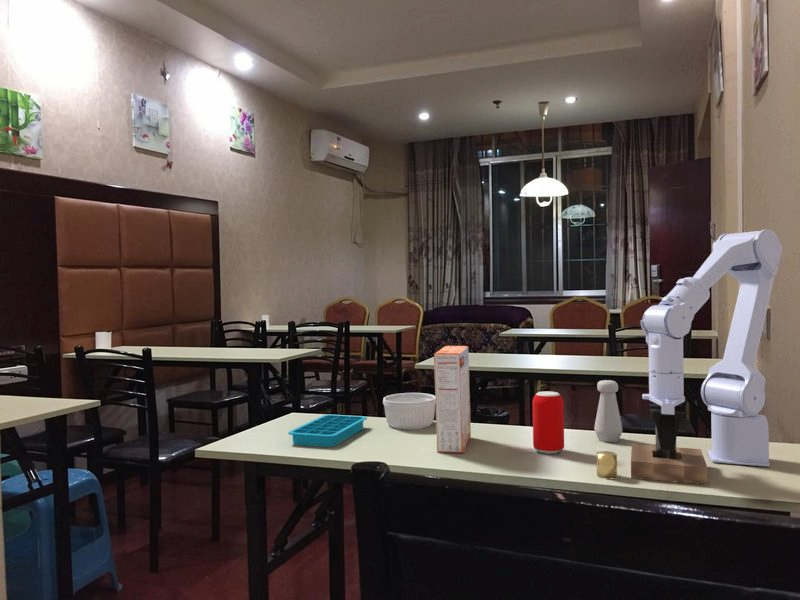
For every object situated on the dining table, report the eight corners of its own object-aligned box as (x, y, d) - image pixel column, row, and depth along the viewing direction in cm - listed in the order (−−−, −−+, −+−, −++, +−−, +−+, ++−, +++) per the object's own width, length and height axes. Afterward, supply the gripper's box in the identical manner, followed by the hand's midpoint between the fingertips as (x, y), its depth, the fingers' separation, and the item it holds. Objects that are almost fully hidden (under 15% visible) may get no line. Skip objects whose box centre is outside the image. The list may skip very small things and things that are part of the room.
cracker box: (445, 436, 137) (443, 345, 136) (471, 437, 135) (469, 345, 135) (434, 452, 123) (432, 352, 123) (463, 454, 122) (461, 352, 121)
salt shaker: (624, 443, 127) (623, 383, 127) (596, 442, 128) (595, 382, 128) (619, 437, 133) (619, 378, 133) (593, 436, 134) (592, 378, 134)
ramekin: (384, 432, 142) (383, 403, 142) (382, 420, 155) (382, 393, 155) (439, 430, 143) (438, 401, 143) (433, 418, 156) (433, 391, 156)
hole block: (700, 465, 111) (700, 449, 111) (707, 485, 100) (707, 467, 100) (632, 459, 116) (631, 444, 116) (631, 478, 105) (630, 461, 105)
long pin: (676, 455, 109) (676, 417, 109) (676, 460, 106) (675, 421, 106) (656, 453, 110) (655, 415, 110) (655, 458, 107) (655, 419, 107)
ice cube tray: (368, 428, 147) (368, 416, 147) (333, 450, 128) (333, 436, 128) (326, 426, 151) (326, 414, 151) (286, 446, 132) (285, 432, 132)
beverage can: (535, 446, 127) (534, 390, 126) (565, 448, 125) (564, 391, 124) (531, 454, 121) (530, 395, 121) (563, 456, 119) (562, 396, 119)
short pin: (617, 474, 107) (617, 452, 107) (616, 480, 104) (616, 457, 104) (597, 472, 108) (597, 450, 108) (596, 478, 105) (596, 455, 105)
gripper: (641, 365, 116) (642, 435, 116) (642, 376, 102) (643, 455, 103) (682, 366, 113) (682, 438, 113) (687, 378, 100) (688, 458, 100)
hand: (666, 446), depth 108 cm, fingers closed on long pin, 3 cm apart
